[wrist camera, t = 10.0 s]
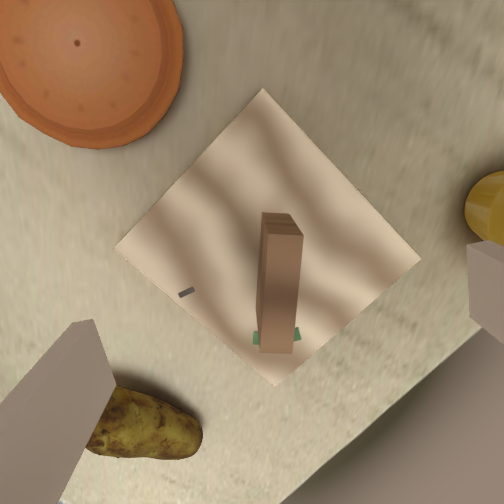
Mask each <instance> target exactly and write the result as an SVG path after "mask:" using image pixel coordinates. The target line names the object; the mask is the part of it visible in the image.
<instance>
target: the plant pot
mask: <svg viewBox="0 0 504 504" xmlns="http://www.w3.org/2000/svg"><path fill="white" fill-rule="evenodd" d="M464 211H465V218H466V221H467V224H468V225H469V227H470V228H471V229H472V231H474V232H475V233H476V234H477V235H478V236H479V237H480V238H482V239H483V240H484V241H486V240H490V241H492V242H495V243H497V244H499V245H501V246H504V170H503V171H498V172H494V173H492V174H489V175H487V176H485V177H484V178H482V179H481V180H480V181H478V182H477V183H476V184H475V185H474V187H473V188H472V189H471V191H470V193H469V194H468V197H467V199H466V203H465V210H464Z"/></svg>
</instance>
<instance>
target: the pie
mask: <svg viewBox="0 0 504 504" xmlns="http://www.w3.org/2000/svg"><path fill="white" fill-rule="evenodd" d="M182 65H183V28H182V25H181V22H180V19H179V17H178V14H177V11H176V8H175V5H174V3H173V0H0V93H1V94H2V95H3V97H4V98H5V99H6V101H7V102H8V103H9V105H10V106H11V107H12V109H13V110H14V111H15V113H16V114H17V115H18V117H19V118H21V119H22V120H24V121H26V122H27V123H29V124H30V125H32V126H33V127H35V128H36V129H38V130H40V131H41V132H43V133H44V134H46V135H48V136H50V137H53V138H55V139H57V140H59V141H61V142H63V143H65V144H67V145H70V146H73V147H82V148H91V149H104V148H111V147H118V146H124V145H126V144H128V143H130V142H132V141H134V140H136V139H138V138H140V137H142V136H144V135H146V134H148V133H149V132H150V130H151V129H152V128H153V127H154V126H155V125H156V124H157V123H158V122H159V121H160V120H161V119H162V117H163V116H164V115H165V114H166V112H167V110H168V108H169V106H170V104H171V103H172V101H173V99H174V97H175V95H176V93H177V91H178V89H179V83H180V77H181V71H182Z"/></svg>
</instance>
